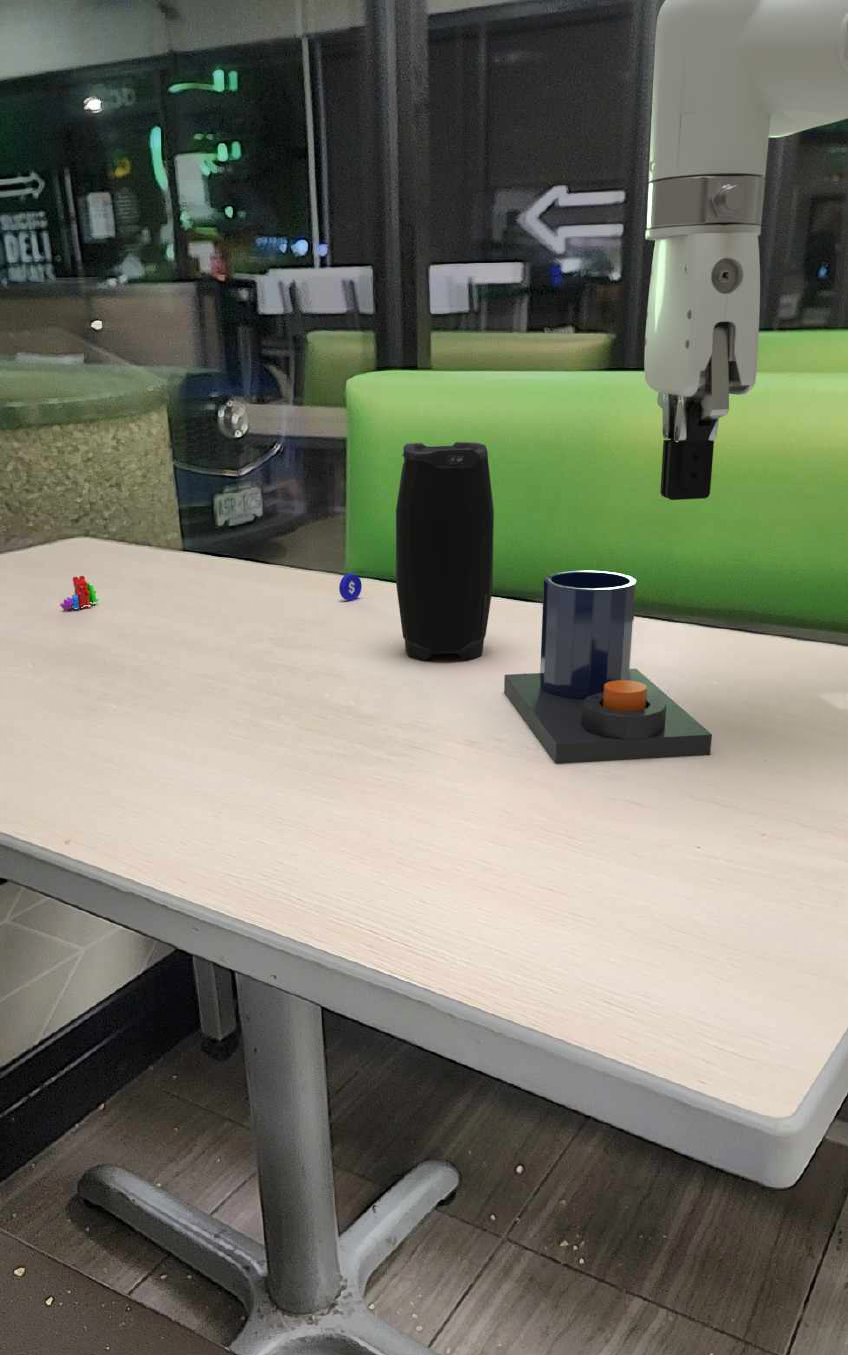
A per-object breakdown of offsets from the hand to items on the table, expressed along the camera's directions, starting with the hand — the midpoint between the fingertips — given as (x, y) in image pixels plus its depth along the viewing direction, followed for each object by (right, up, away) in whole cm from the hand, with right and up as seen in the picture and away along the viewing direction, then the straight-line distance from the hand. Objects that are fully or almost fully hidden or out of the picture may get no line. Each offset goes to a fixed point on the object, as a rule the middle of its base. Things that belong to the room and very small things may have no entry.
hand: (684, 497), depth 84 cm
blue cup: (-5, -12, +13) cm, 19 cm away
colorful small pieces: (-58, +1, +48) cm, 76 cm away
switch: (-4, -15, +3) cm, 16 cm away
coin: (-28, +3, +51) cm, 58 cm away
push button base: (-5, -15, +10) cm, 19 cm away
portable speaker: (-17, -7, +30) cm, 35 cm away
